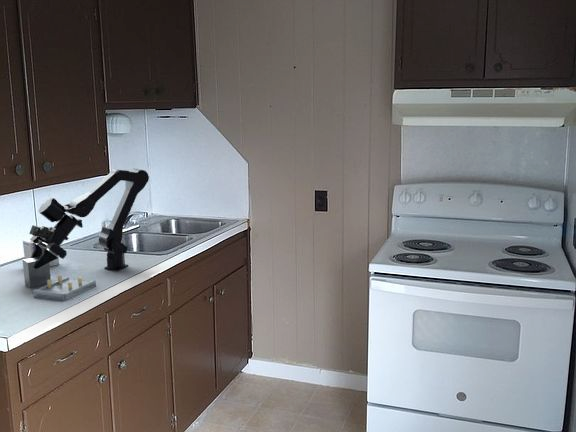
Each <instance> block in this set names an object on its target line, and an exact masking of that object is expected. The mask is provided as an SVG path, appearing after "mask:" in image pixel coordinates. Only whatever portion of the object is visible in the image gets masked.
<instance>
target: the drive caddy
mask: <svg viewBox="0 0 576 432" xmlns="http://www.w3.org/2000/svg"><path fill="white" fill-rule="evenodd" d="M39 258H40V257H34V258H29V259H25V258H24V259H22V269H23V278H24V279H23V280H24V285H25V286H26V287H28V289H34V288H40V287H44V286H46V285H48V284H47V280H51V281H52V278H51V268H50V267H51V266H49V263H47V264H45V265H43V266H41V267H40V268H38V269H35V268H34V266H35V264H36V262H37V261H38V259H39Z"/></svg>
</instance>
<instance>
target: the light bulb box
mask: <svg viewBox="0 0 576 432" xmlns="http://www.w3.org/2000/svg"><path fill="white" fill-rule="evenodd" d="M30 239H31V238H30ZM30 239H24V240H22V246H23V248H22V249H23V257H24V259H29V258H31V256H32V253H33V251H34V246H33V243H34V242H32V241H31V240H30ZM57 257H58V259H55V260H53V261H51V262H49V266H50V267H53V266H57V265H60V257H59V256H57Z"/></svg>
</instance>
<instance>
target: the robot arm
mask: <svg viewBox="0 0 576 432" xmlns="http://www.w3.org/2000/svg"><path fill="white" fill-rule="evenodd" d="M121 181H124V182H125V185H124V186H125V190H124V191H123V193H122V196H121V198H120V201H119V203H118V206H117V207H116V210H115V211H114V215H113V216H112V217H113V218H112V219H111V222H110V224H109V225H107V227H106V226H102V227H101V230H100V233H99V234H98V235H97V236H98V243H99V246H101V247H102V248H103V250H104V251H105V252H107V253H106V266H104V267H103V268H104V270H111V271H120V270H123V269H125V268H127V267H129V264H125V263H126V260H125V254H126V253H127V251H128V246H127V245H125V244H124V243H123V242H122V241H123V239H124V238H123V235H124V234H123V230H124V226H125V224H126V222H127V219H128V218H129V215H130V213H131V210H132V208H133V206H134V203H135V202H136V201H135V200H136V199H137V196H138V194H140V193H141V191H143V190H144V188H145V187H146V185H147V184H148V182H149V181H150V176H149V173H148V172H147V170H145V169H138V168H132V169H129V170H127V169H126V170H125V169H117V168H113V169H112V170H110V172H109V173H108V174H107V175H106V176H105V177H103V178H102V179H101V180H100V181H99V182H98V183H97V184H95V185H94V186H93V187H92V188H91V189H89V191H87V192H86V193H84V194H82V195H79V196H77V197H76V198H74V199H73V200H71V201H70V202H69V203H66V204H63V205H62V204H61V203H59V201H58V200H57V199H56V198H55V197H50V198H49V199H48V200H46V201H45V202H44V203H42V204H41V205H40V206H39V208H38V211H37V212H38V213H39V214H40V215H41V216H43V217H44V218H45V219H46V220H48V221H49V222H50V223H55V224H54V226H49V227H48V226H44V225H42V226H37V225H31V227H30V231H29V233H28V234H29V235H31V238H30V240H31V241H32V242H34V243H33V246H34V251H33V253H32V256H31V258H34V257H40V258H39V259H38V261H37V262H36V264H35V266H34V268H35V269H38V268H40V267H41V266H43V265H45V264H47V263H49V262H51V261H53V260H55V259H58V257H59V259H62V260H64V259H65V258H66V256H67V255H68V254H67V253H68V251H67V250H65V249H64V248H63V247H62V246H61V245H62V244H63V243H64V241H68V240H69V237H68V236H69V235H70V234H71V232H73V230H74V229H75V228H76V226H77V227H79V228H83V227H84V226H83V225H84V224H83V220H82V219H80V218H86V217H88V216H89V214H91V212H93V210H94V208H95V207H96V206H95V205H96V204H97V203H98V202H99V200H101V198H102V197H104V196H105V195H106V194H107V193H109V191H110V190H111V189H113V188H114V187H116V185H117V184H118V183H119V182H121ZM68 214H70V215H68ZM76 217H79V219H78V218H76ZM57 256H58V257H57Z"/></svg>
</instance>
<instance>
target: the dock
mask: <svg viewBox="0 0 576 432" xmlns="http://www.w3.org/2000/svg"><path fill="white" fill-rule="evenodd" d="M96 283H97V281H96V280H95V279H91V280H90V281H86V280H83V277H77V279H70V277H69V276H65V277H63V278H62V274H60V275H59V274H58V275H57V280H56V281H55V280H54V281H53V282H52V279H51V280H47V284H48V285H43V286H40V287H38V288H37V289H33V290H32V294H33V295H32V296H33V298H39V299H45V300H54V301H60V302H61V301H63V302H65V301H68V300H69V299H71V298H73V297H76V296H78V295H80V294H81V293H84V292H85V291H88V290H90V289H93V288H94V287H96V285H97V284H96Z"/></svg>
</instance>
